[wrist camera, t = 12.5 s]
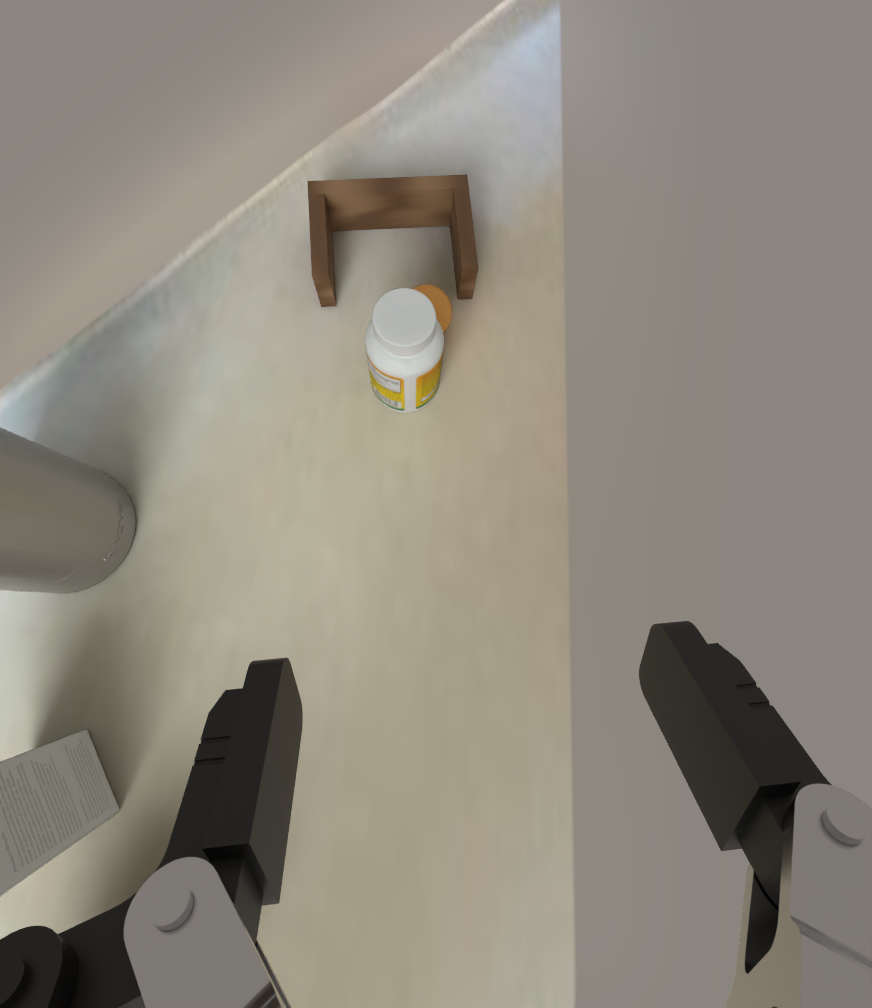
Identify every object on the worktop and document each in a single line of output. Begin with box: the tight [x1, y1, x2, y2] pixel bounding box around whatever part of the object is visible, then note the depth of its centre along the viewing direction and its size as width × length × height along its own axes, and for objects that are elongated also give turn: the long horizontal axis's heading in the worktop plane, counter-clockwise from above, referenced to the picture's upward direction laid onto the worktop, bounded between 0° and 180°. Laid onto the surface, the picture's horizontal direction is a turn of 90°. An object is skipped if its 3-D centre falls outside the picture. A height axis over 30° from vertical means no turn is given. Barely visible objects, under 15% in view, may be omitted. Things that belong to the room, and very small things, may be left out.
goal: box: [308, 175, 478, 307], centre depth 42 cm, size 12×8×4 cm, turn 95°
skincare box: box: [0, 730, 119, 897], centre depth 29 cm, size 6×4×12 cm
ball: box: [413, 285, 452, 332], centre depth 40 cm, size 4×4×4 cm
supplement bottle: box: [365, 288, 444, 413], centre depth 37 cm, size 5×5×10 cm
